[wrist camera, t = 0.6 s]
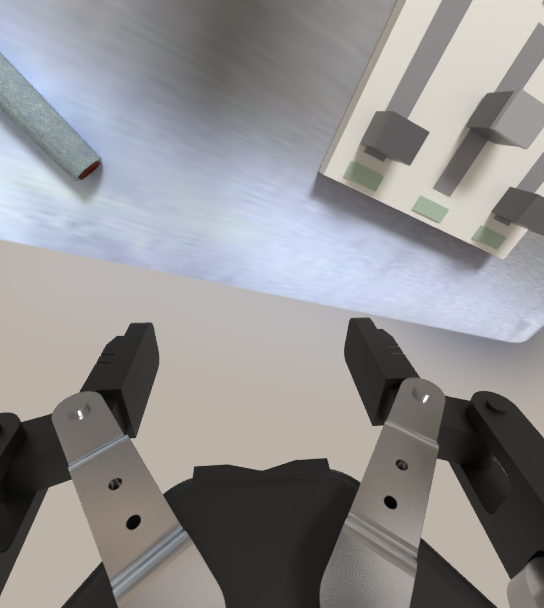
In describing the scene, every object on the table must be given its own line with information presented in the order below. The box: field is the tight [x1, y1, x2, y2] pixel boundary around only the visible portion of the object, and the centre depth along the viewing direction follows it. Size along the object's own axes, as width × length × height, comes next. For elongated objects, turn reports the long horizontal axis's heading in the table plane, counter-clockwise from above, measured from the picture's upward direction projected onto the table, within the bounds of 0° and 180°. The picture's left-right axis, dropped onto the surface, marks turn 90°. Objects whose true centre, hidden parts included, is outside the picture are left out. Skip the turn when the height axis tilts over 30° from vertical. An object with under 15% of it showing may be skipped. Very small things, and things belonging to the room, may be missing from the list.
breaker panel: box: [319, 0, 544, 259], centre depth 31 cm, size 22×26×6 cm
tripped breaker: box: [466, 88, 544, 149], centre depth 30 cm, size 3×4×4 cm
